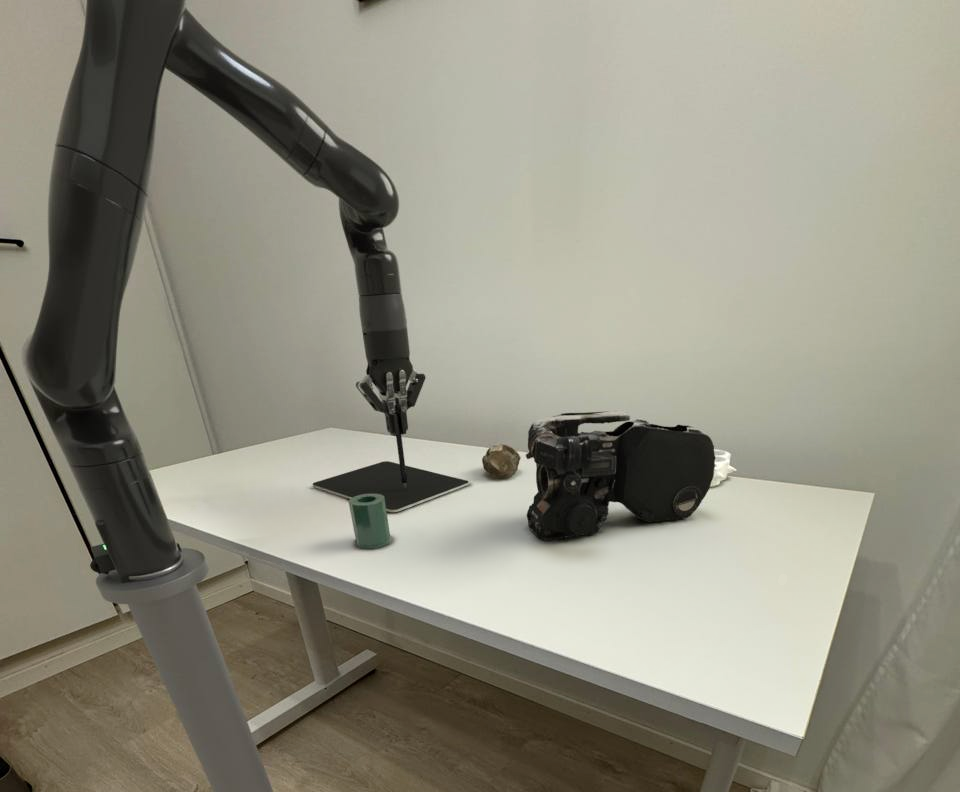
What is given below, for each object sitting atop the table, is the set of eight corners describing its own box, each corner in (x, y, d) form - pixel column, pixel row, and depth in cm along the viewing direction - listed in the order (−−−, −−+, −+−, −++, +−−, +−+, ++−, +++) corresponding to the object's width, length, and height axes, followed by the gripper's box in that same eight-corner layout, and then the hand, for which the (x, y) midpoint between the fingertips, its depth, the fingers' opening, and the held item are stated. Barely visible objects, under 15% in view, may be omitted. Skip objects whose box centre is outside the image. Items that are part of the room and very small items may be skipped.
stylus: (404, 489, 107) (393, 406, 98) (401, 487, 107) (390, 405, 99) (408, 487, 107) (398, 405, 99) (406, 486, 108) (395, 404, 100)
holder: (366, 552, 85) (358, 508, 81) (350, 541, 89) (342, 499, 85) (397, 542, 88) (390, 499, 84) (380, 532, 91) (374, 491, 88)
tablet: (309, 483, 114) (385, 460, 126) (310, 486, 114) (386, 463, 126) (393, 510, 98) (471, 481, 110) (393, 514, 98) (471, 484, 110)
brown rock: (488, 454, 120) (470, 475, 113) (501, 428, 115) (482, 449, 108) (518, 473, 120) (501, 495, 113) (531, 448, 115) (515, 470, 108)
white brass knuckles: (673, 461, 117) (745, 470, 108) (634, 484, 105) (711, 497, 97) (676, 444, 115) (749, 453, 107) (636, 466, 104) (715, 477, 95)
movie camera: (533, 557, 78) (537, 426, 69) (506, 519, 93) (506, 408, 85) (735, 540, 82) (762, 414, 74) (677, 506, 98) (694, 399, 89)
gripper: (408, 322, 98) (419, 425, 108) (337, 329, 92) (356, 438, 101) (430, 323, 93) (440, 431, 102) (357, 330, 87) (374, 445, 96)
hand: (398, 434), depth 102 cm, fingers closed on stylus, 1 cm apart
